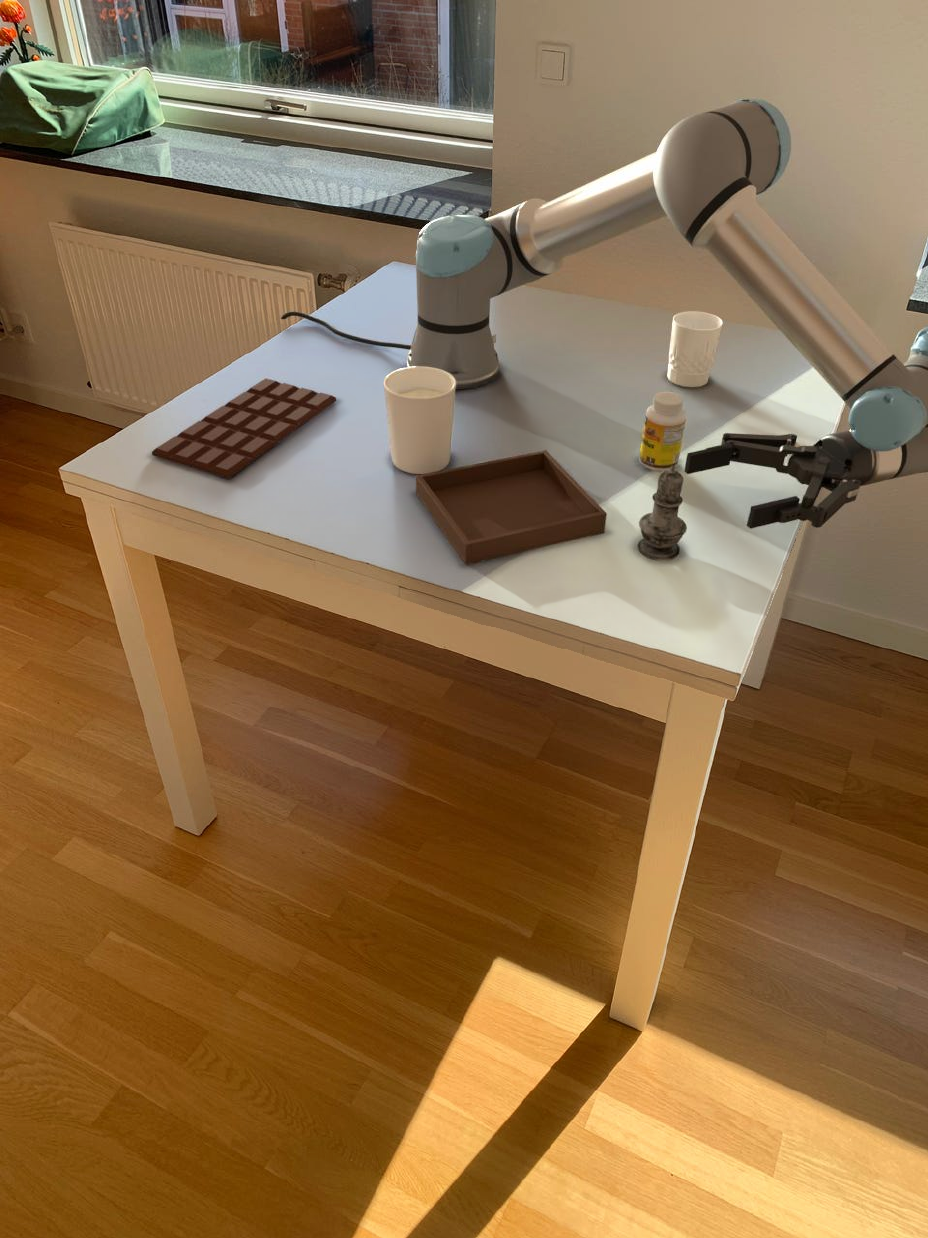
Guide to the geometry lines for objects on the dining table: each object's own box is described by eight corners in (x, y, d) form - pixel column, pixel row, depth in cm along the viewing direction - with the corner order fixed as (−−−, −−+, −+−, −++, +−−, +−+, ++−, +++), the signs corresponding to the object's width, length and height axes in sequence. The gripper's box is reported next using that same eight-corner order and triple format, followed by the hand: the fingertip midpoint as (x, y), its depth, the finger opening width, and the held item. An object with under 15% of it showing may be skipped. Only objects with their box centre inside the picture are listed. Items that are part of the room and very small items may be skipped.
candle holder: (404, 483, 132) (402, 403, 125) (375, 451, 139) (372, 374, 132) (467, 467, 136) (469, 389, 129) (436, 437, 143) (436, 361, 135)
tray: (465, 564, 118) (465, 544, 116) (415, 494, 130) (415, 475, 129) (604, 532, 124) (607, 513, 122) (544, 468, 136) (546, 449, 135)
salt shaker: (681, 565, 119) (698, 480, 111) (633, 558, 120) (647, 474, 112) (682, 538, 123) (699, 455, 116) (636, 532, 124) (649, 450, 117)
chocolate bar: (265, 382, 156) (265, 376, 155) (336, 400, 151) (335, 394, 151) (152, 455, 137) (150, 448, 136) (229, 478, 132) (228, 472, 132)
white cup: (658, 369, 163) (667, 311, 156) (704, 368, 163) (715, 310, 157) (670, 389, 157) (680, 330, 150) (717, 388, 157) (729, 329, 151)
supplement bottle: (633, 455, 140) (642, 389, 133) (669, 452, 141) (680, 387, 134) (645, 474, 136) (656, 408, 129) (683, 471, 136) (695, 405, 130)
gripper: (914, 532, 119) (773, 569, 113) (787, 440, 137) (659, 468, 131) (933, 479, 115) (788, 515, 108) (800, 392, 132) (668, 417, 126)
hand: (717, 489), depth 119 cm, fingers open, 13 cm apart
